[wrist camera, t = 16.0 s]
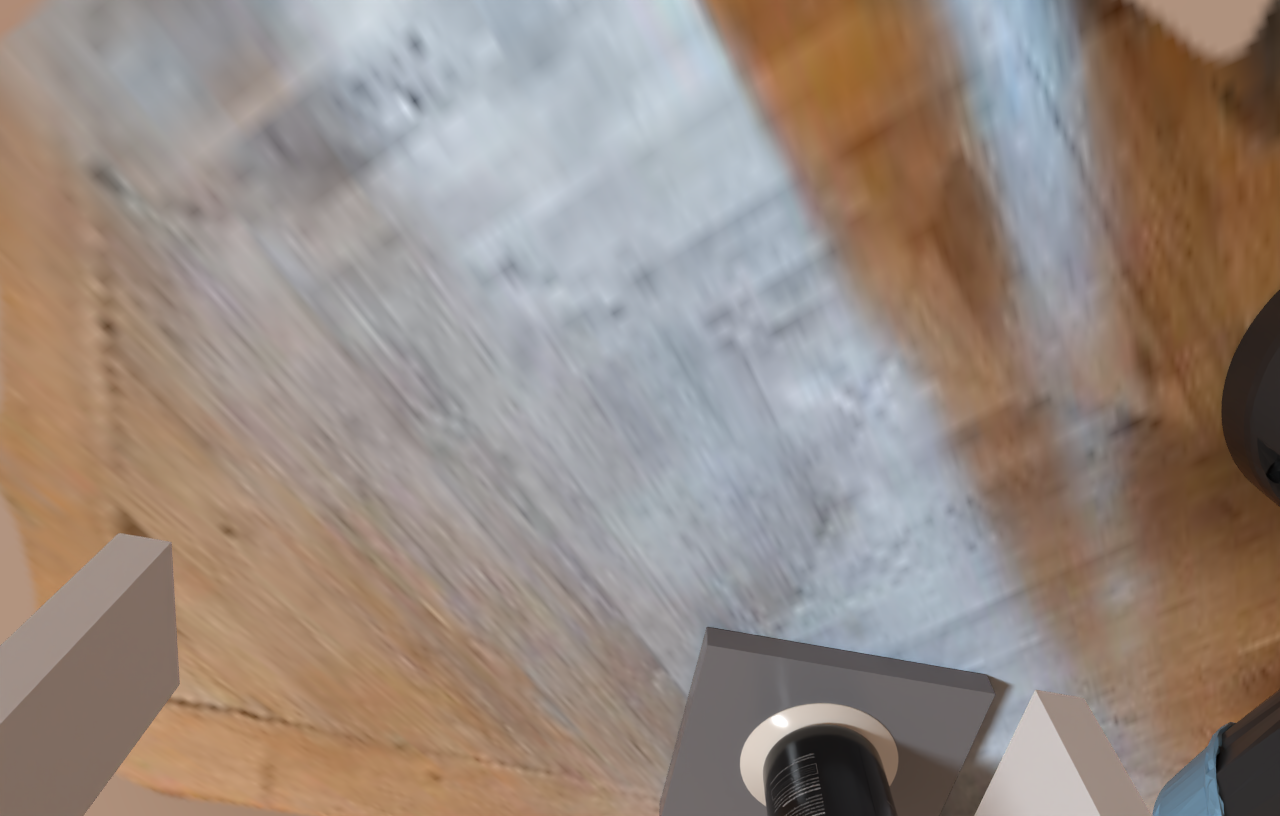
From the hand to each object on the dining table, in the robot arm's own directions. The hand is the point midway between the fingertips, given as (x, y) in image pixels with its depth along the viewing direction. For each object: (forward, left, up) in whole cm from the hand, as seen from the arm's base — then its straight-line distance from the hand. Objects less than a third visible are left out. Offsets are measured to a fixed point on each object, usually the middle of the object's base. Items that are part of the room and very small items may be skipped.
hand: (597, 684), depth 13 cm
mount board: (-15, +28, -29) cm, 43 cm away
